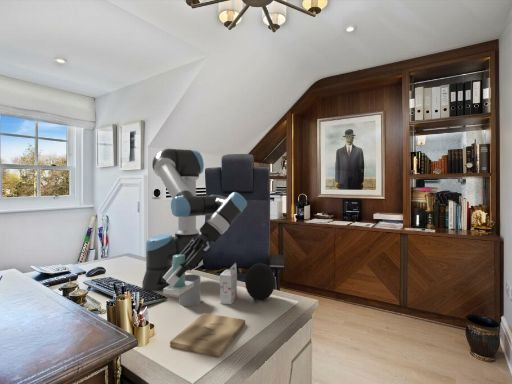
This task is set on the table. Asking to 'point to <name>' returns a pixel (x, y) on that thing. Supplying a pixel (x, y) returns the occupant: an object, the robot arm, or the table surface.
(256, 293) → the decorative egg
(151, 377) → the table surface
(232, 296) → the ink cartridge box
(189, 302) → the cup
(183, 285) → the teal cylinder on base
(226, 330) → the board
